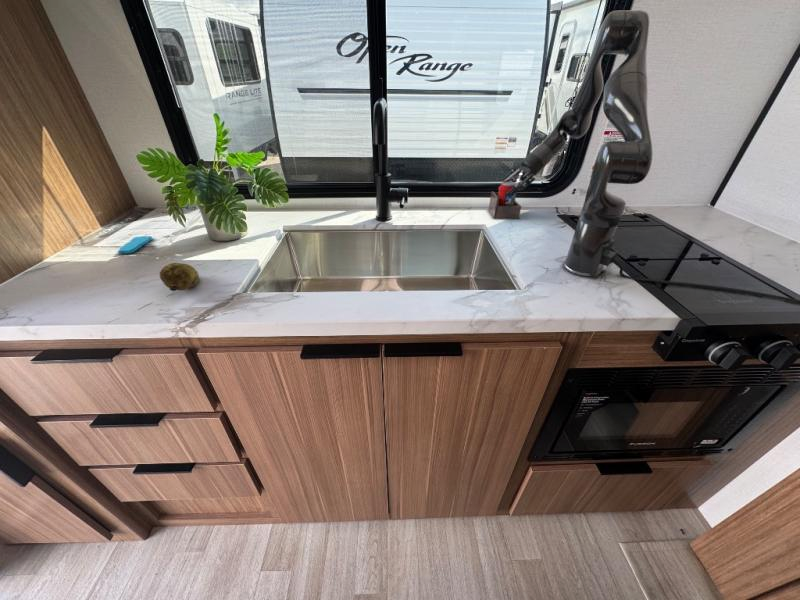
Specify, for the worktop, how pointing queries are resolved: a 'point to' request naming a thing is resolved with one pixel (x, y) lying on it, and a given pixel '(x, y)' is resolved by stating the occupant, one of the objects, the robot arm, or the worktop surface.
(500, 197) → the beverage can
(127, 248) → the sponge
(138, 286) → the worktop surface
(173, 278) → the potato
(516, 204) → the box
